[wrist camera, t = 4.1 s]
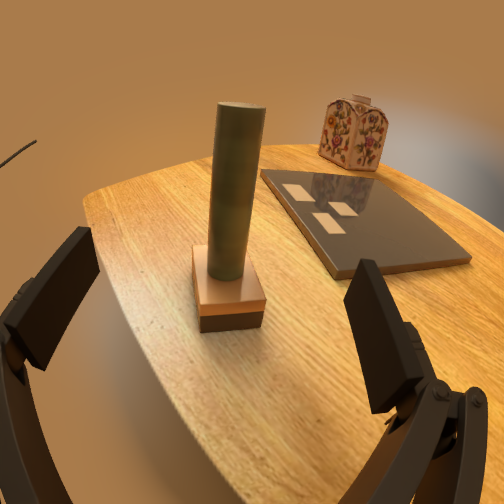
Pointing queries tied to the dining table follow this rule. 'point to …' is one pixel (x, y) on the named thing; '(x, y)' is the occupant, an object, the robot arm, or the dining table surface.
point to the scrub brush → (230, 225)
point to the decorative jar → (353, 133)
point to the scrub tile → (362, 223)
